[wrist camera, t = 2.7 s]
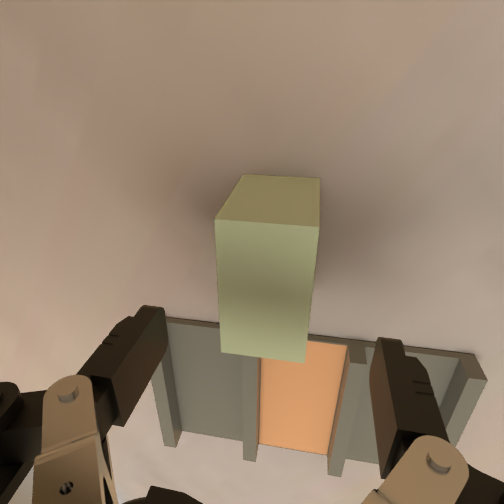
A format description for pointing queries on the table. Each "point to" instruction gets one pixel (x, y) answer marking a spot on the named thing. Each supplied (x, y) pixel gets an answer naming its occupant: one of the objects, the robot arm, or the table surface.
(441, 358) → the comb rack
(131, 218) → the table surface
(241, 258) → the plug
